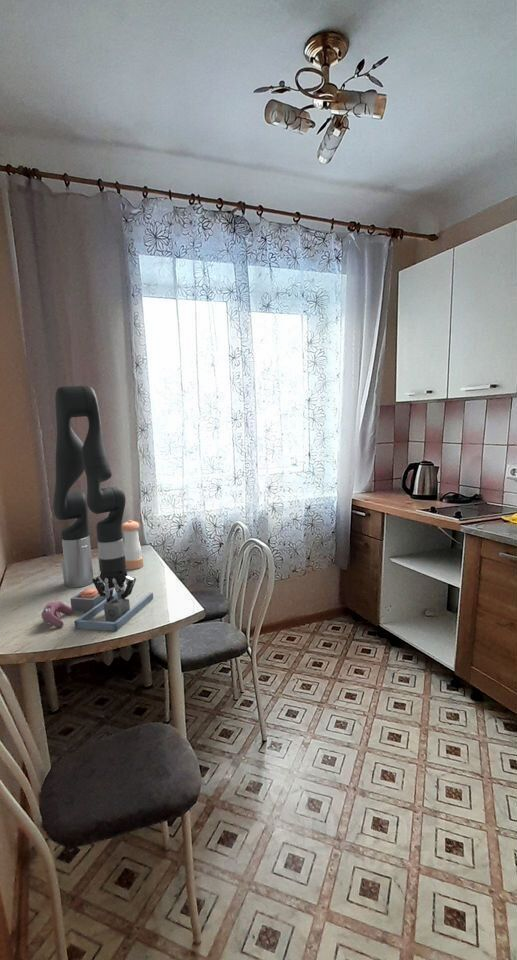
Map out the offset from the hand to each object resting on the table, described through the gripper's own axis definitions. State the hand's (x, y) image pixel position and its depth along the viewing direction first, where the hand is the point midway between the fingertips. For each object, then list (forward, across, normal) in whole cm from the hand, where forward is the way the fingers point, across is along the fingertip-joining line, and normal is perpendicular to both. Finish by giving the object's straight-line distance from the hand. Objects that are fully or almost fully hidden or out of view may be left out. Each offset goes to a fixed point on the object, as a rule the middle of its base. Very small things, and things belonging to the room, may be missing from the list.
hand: (116, 609), depth 130 cm
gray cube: (+1, +2, -4) cm, 5 cm away
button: (-1, -11, +3) cm, 11 cm away
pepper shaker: (+1, -16, +40) cm, 43 cm away
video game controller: (+1, -15, -8) cm, 17 cm away
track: (+1, 0, 0) cm, 1 cm away
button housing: (+1, -11, +3) cm, 11 cm away
